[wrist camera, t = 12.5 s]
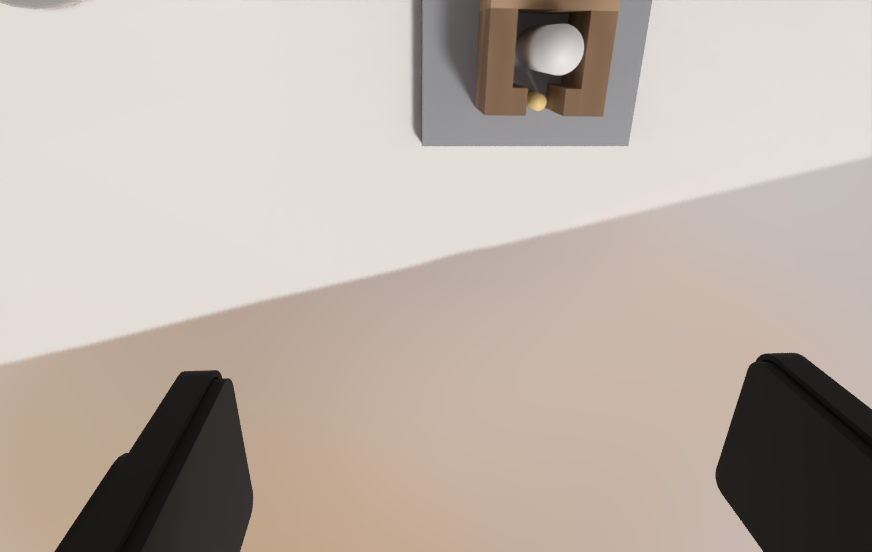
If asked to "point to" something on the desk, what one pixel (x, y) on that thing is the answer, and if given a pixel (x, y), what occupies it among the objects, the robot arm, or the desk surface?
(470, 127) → the post base
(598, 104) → the wooden arch block
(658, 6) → the desk surface
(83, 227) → the desk surface
